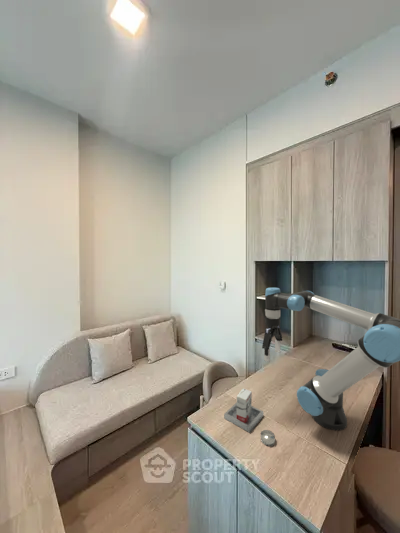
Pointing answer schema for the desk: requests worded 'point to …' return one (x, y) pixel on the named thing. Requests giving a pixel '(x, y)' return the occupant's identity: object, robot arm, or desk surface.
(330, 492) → the desk surface
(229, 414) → the square metal tray
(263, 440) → the shiny grey rounded piece
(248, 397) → the ink box
